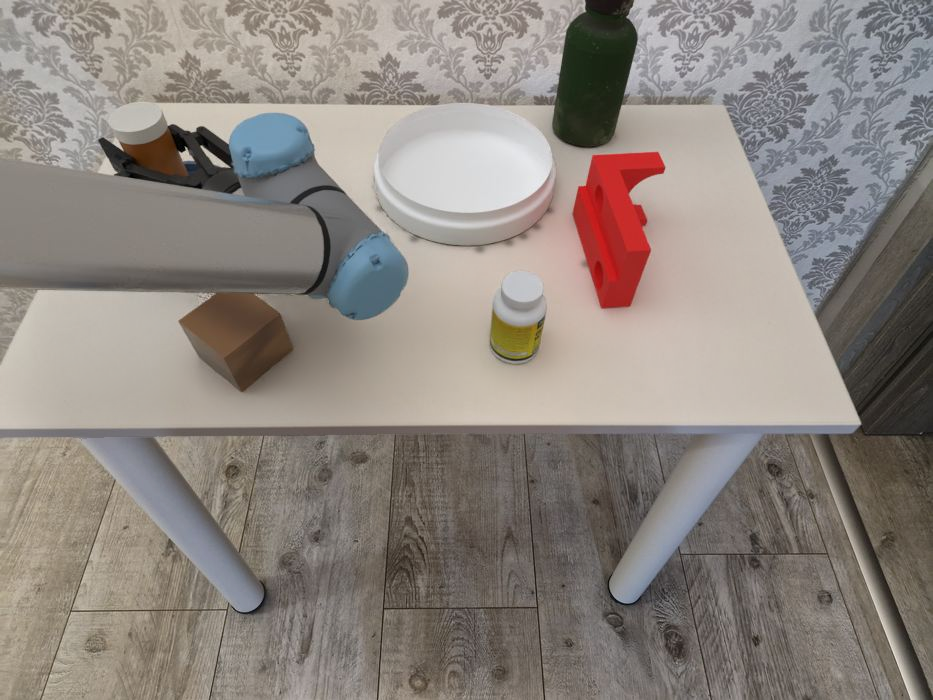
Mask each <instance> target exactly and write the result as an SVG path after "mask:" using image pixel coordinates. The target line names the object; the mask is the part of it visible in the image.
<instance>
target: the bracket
mask: <svg viewBox="0 0 933 700" xmlns="http://www.w3.org/2000/svg"><path fill="white" fill-rule="evenodd" d="M666 169H667V167H666V165H665V163H664V160H663V158H662V156H661V154H660V152H659V151H644V152H626V153H625V152H624V153H606V154H605V153H604V154H592V156H591V159H590V165H589V169H588V173H587V176H586V177H587V178H586V182H585V185H578V186H577V190H576V196H575V201H574V206H573V210H572V217H573V221H574V224H575V227H576V230H577V234H578V237H579V239H580V243H581V246H582V250H583V253H584V256H585V261H586V262H587V266H588V269H589V272H590V276H591V280H592V282H593V286H594V289H595V292H596V295H597V299H598V302H599V306H600V308H601V309H610V308H611V309H612V308H613V309H614V308H625V307H631V306H632V303H633V300H634V297H635V294H636V292H637V289H638V287H639V285H640V281H641V279H642V276H643V273H644V270H645V267H646V265H647V262H648V259H649V257H650V254H651V251H652V249H651V246H650V244H649V241H648V239H647V236H646V234H645V230H644V228H643V227H644V226H646V225H647V222H648V218H647V216H646V214H645V211H644V209H643V205H642V204H636V203H635V204H634V203H633V200H632V198H631V195H630V193H631V191H632V190H633V189H634V188H635V187H637V185H638V184H640V183H642V182H643V181H644V180H646V179H649V178H651V177H653V176H658V175H663V174H664V173H665V171H666Z"/></svg>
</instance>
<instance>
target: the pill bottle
mask: <svg viewBox="0 0 933 700" xmlns="http://www.w3.org/2000/svg"><path fill="white" fill-rule="evenodd" d="M544 287H545V286H544V282H543V281H542V279H541V278H540V277H539V276H538V275H536V274H535V273H533V272H531V271H528V270H514V271H511V272H509V273H508V274H506V275H505V276H504V278H503V279H502V281H501V284H500V288H499V289H498V290H497V291H496V293H495V295H494V296H493V300H492V308H491V319H490V329H489V348H490V350H491V352H492V353H493V355H494V356H495V357H496V358H497V359H499V360H500V361H502V362H505V363H507V364H513V365H519V364H525V363H527V362H530V360H532V359H533V358H534V357H536V355H537V353H538V351H539V349H540V346H541V345H540V344H541V340H542V334H543V330H544V324H545V321H546V314H547V310H548V303H547V299H546V297H545V295H544V292H545V291H544V289H545V288H544Z"/></svg>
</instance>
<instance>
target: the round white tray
mask: <svg viewBox="0 0 933 700" xmlns="http://www.w3.org/2000/svg"><path fill="white" fill-rule="evenodd" d="M373 177H374V187H375V193H376V196H377V200H378V202H379V204H380V206H381V208H382V210H383V211H384V212H385V213H386V215H387V216H388V218H390V219H391V221H393V223H395V224H397V225H398V226H399V227H400V228H402V229H404V230H405V231H406V232H409V233H411V234H412V235H414V236H417V237H419V238H421V239H424V240H427V241H431V242H435V243H440V244H443V245H452V246H465V247H466V246H483V245H489V244H495V243H499V242H502V241H505V240H508V239H511V238H514V237H516V236H518V235H520V234H522V233H524V232H526V231H527V230H528V229H530V228H532V227H533V226H534V225H535V224H536V223H538V222H539V220H540V219H542V217H543V216H544V215H545V213H546V212H547V210H548V209H549V207H550V205H551V202H552V199H553V195H554V191H555V190H554V189H555V185H556V184H555V183H556V178H557V168H556V162H555V159H554V156H553V153H552V149H551V146H550V144H549V142H548V140H547V138H546V137H545V135H544V134H543V132H541V131H540V129H539V128H538V127H536V126H535V124H533V123H532V122H531V121H529V120H528V119H526V118H524V117H522V116H521V115H518V114H517V113H514V112H512V111H510V110H507V109H504V108H501V107H497V106H493V105H489V104H483V103H475V102H451V103H443V104H442V103H441V104H436V105H433V106H428V107H425V108H421V109H419V110H416V111H413V112H412V113H410V114H408V115H406V116H404V117H403V118H401V119H400V120H398V121H397V122H396V123H394V124H393V125H392V126H391V127H390V128H389V129H388V130H387V131H386V133H385V134H384V136H383V137H382V139H381V141H380V144H379V147H378V150H377V152H376V154H375V158H374V161H373Z"/></svg>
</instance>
